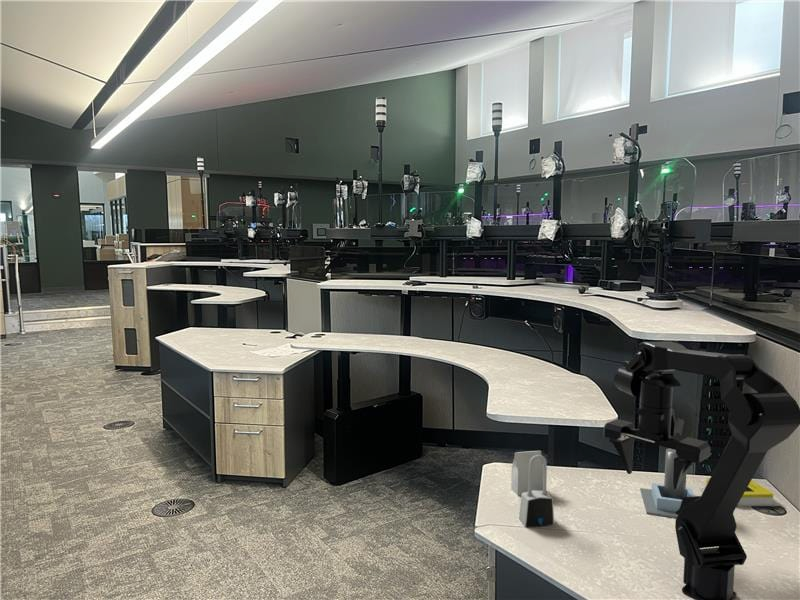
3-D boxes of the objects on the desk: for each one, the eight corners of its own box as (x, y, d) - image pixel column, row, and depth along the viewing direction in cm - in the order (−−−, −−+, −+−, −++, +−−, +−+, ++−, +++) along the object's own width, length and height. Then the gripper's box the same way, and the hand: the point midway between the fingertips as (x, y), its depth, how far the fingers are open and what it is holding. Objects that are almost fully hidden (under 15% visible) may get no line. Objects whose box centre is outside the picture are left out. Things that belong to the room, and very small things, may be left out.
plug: (689, 507, 119) (691, 454, 118) (671, 509, 118) (674, 455, 117) (676, 498, 123) (678, 447, 122) (659, 500, 122) (661, 448, 121)
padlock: (546, 515, 115) (548, 450, 114) (555, 525, 111) (557, 457, 110) (518, 518, 114) (519, 452, 113) (525, 528, 110) (527, 459, 109)
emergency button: (698, 473, 130) (756, 473, 130) (697, 490, 130) (755, 490, 130) (722, 490, 120) (785, 489, 121) (721, 508, 121) (784, 507, 121)
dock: (712, 523, 112) (713, 510, 112) (646, 513, 117) (647, 500, 116) (699, 497, 125) (699, 485, 125) (640, 489, 129) (640, 477, 129)
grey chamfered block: (543, 493, 127) (544, 453, 126) (517, 495, 125) (518, 455, 124) (536, 486, 130) (537, 448, 129) (511, 489, 129) (512, 450, 128)
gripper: (723, 408, 100) (719, 486, 101) (629, 388, 115) (626, 457, 116) (700, 419, 93) (695, 502, 94) (603, 397, 107) (600, 470, 109)
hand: (652, 481), depth 103 cm, fingers open, 9 cm apart
